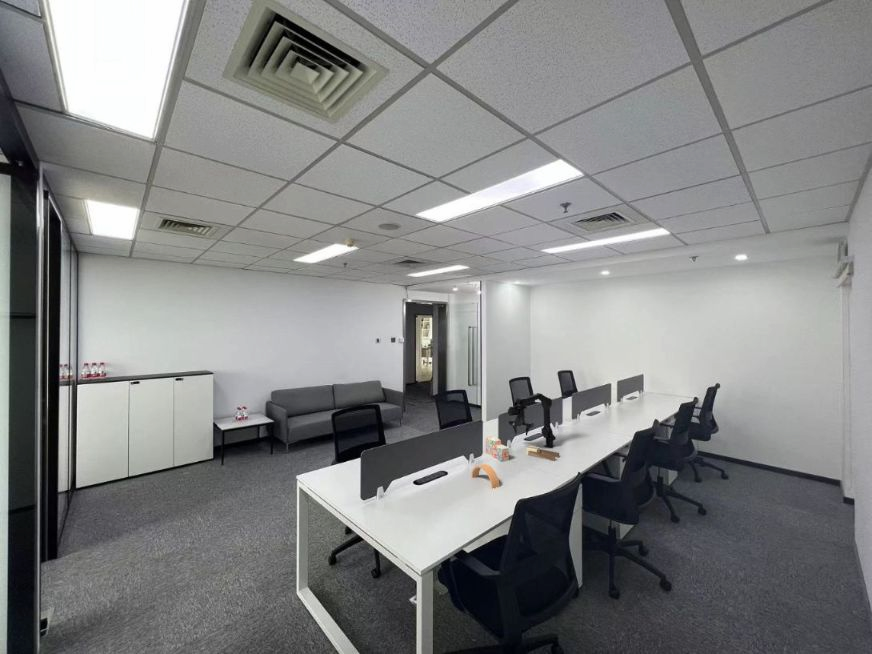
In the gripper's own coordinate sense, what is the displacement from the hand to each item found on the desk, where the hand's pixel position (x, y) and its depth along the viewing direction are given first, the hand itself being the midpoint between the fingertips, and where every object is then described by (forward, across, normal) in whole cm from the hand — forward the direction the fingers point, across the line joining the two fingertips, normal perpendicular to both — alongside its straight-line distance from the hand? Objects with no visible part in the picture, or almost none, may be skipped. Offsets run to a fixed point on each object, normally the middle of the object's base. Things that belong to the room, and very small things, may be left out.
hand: (521, 434), depth 271 cm
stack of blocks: (+14, -11, -21) cm, 27 cm away
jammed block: (+13, +10, 0) cm, 16 cm away
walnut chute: (+13, +18, 0) cm, 22 cm away
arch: (+14, +4, -65) cm, 66 cm away
